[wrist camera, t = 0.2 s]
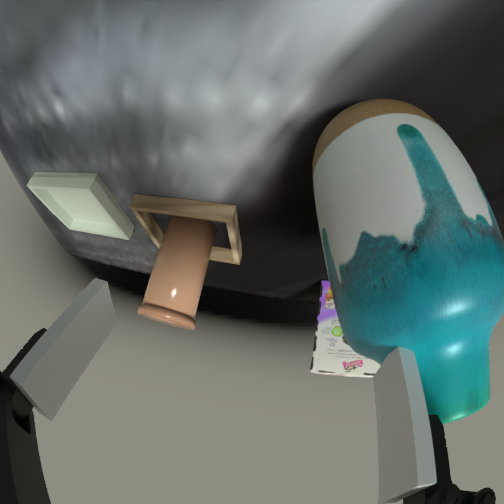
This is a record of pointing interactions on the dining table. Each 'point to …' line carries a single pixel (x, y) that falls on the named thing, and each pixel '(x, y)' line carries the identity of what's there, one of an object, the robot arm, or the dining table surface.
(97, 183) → the green tray
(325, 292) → the candy box
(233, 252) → the oak corral
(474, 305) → the vase
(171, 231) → the canister
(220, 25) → the dining table surface
